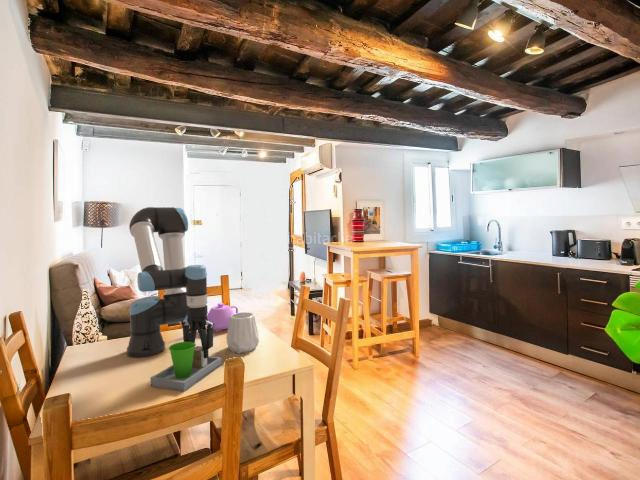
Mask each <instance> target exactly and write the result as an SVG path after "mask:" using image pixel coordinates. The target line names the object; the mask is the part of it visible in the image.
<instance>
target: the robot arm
mask: <svg viewBox="0 0 640 480" xmlns="http://www.w3.org/2000/svg"><path fill="white" fill-rule="evenodd" d="M128 227H129V233H130V235H131V236H132V237H133V238H134V244H135V248H136V251H137V256H138V260H139V261H138V262H139V265H140V269H141V271H140V272H138V274H137V277H136V278H137V281H136V282H137V288H138V290H139V291H140V292H145V293H146V292H147V293H148V292H156V291H162V290H163V291H164V290H165V292H164V293H163V295H162V296H163V297H162V298H160V297H159V296H158V295H151V296H145V297H141V298H138V299H136V300H134V301H132V302H131V303H130V305H129V313H128V314H129V318H130V319H129V321H130V322H129V323H130V325H129V326H130V337H129V341H128V346H127V348H126V355H127V357H131V358H144V357H150V356H153V355H157V354H160V353H162V352H163V351H165V350H166V342H165V341H164V337H163V335H162V332H161V326H163V325H171V324H176V323H177V324H178V323H180V324H181V326H182V337H183V342H194V343H195V344H196V337H197V333H198V334H199V338H200V343H201V346H202V350H201V367H204V366H206V365H207V357H208V356H210V355H209V350H210V349H211V348H213V347H214V330H213V327H214V322H212V323H211V322H209V321H208V319H207V315H208V313H209V311H208V305H207V304H208V286H207V285H208V284H207V281H208V279H207V275H208V274H207V273H208V272H207V268H206V266H205V264H191V265H187V266H186V267H185V260H184V259H185V258H184V257H185V256H184V251H183V250H184V249H183V247H184V246H183V237H185V235H186V232H188V230H189V220H188V215H187V212H186V211H185V210H184V209H183V208H182V207H174V206H172V207H164V206H163V207H155V206H154V207H153V206H152V207H151V206H149V207H144V208H142V209H140V210H138V211H137V212H135V214H134V215H133V216H132V217H131V219H130V222H129V226H128ZM154 233H157V234H158V235H157V236H158V238H160V240H161V241H162V251H163V252H162V253H163V265H164V268H163V265H162V261H161V257H160V253H159V250H158V247H157V243H156V240H155V236H154Z"/></svg>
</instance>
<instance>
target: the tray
mask: <svg viewBox="0 0 640 480" xmlns="http://www.w3.org/2000/svg"><path fill="white" fill-rule="evenodd" d="M221 366H223V357H221V356H211V355H209V356H208V357H207V365H206V366H204V367H202V368H200V369H199V368H192V370H191V374H190V376H189V377H187V378H183V379H178V378H176V376H175V371H174V367H173V364H172V365H170V366H168V367H167V368H165V369H164V370H161V371H160V372H159V373H158V372H157V373H156V374H154V375H153V376H151V377H150V387H153V388H159V389H167V390H172V391H177V392H187V391H188V390H189V389H190V388H192V387H194V386H195V385H196V384H198V383H199V382H201V381H202V380H204V378H206V377H207V376H209V375H210V374H211V373H213V372H214V371H216V370H217V369H218V368H220V367H221Z"/></svg>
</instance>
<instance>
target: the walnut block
mask: <svg viewBox="0 0 640 480" xmlns="http://www.w3.org/2000/svg"><path fill="white" fill-rule="evenodd" d="M201 350H202V345H196V346H195V347H194V355H193V362H192V368H199V369H200V368H202V367H201Z"/></svg>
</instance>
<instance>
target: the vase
mask: <svg viewBox="0 0 640 480" xmlns="http://www.w3.org/2000/svg"><path fill="white" fill-rule="evenodd" d="M235 313H236V312H235ZM235 313H234V314H233V315H231V316H230V318H229V325H228V330H227V333H226V344H227V348H228V349H229V350H230V351H231V352H232V353H237V354H238V353H239V354H242V353H243V354H245V353H249V352H251V351H253V350H255V349H256V348H257V347H258V345H259V342H260V340H259V339H260V338H259V331H258V326H257V322H256V317H255V315H254V314H253V312H238V313H236V314H235Z"/></svg>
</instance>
